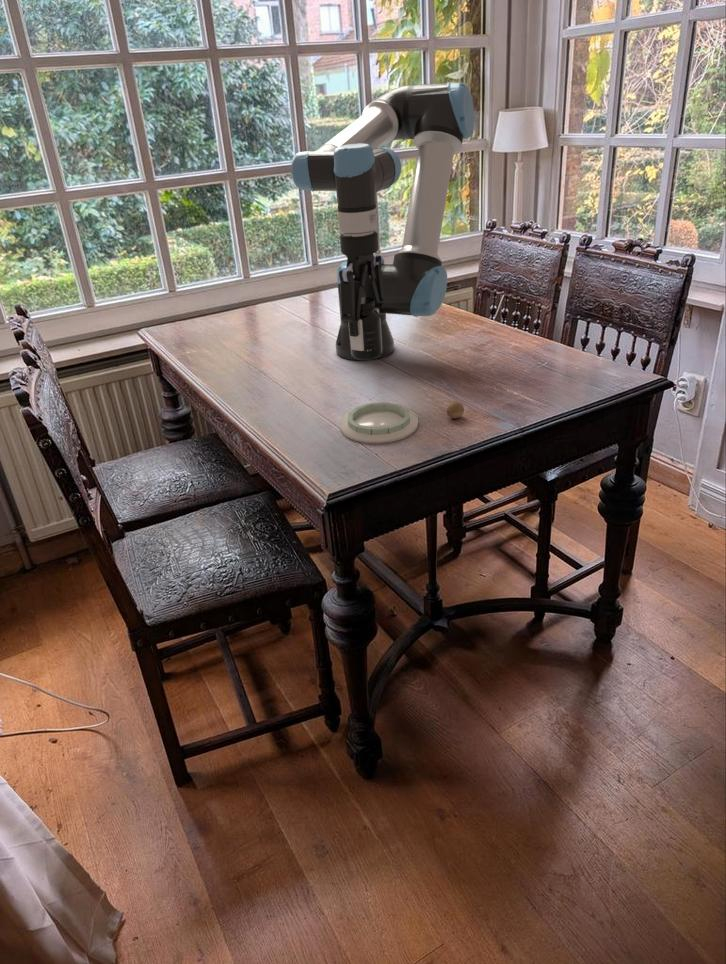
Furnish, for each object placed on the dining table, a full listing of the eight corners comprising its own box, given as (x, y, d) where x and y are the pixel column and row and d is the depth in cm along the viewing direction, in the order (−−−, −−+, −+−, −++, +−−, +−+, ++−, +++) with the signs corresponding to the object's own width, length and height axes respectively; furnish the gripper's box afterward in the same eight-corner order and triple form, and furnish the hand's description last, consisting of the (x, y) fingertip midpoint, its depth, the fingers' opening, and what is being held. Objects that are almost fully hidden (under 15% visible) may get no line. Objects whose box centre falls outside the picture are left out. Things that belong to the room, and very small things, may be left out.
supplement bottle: (350, 350, 150) (345, 296, 144) (380, 347, 150) (377, 293, 144) (352, 362, 144) (347, 306, 138) (384, 359, 145) (381, 303, 138)
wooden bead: (443, 419, 139) (444, 404, 138) (450, 413, 142) (450, 397, 140) (459, 422, 138) (460, 406, 136) (466, 415, 140) (466, 400, 139)
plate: (325, 434, 137) (324, 425, 135) (363, 404, 148) (362, 394, 147) (396, 449, 130) (396, 439, 128) (430, 415, 141) (430, 406, 140)
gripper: (350, 244, 125) (359, 362, 137) (397, 222, 139) (401, 330, 152) (315, 242, 128) (327, 357, 140) (365, 220, 143) (372, 326, 155)
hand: (366, 343), depth 146 cm, fingers closed on supplement bottle, 7 cm apart
